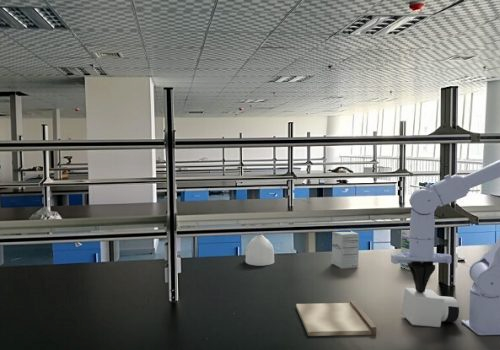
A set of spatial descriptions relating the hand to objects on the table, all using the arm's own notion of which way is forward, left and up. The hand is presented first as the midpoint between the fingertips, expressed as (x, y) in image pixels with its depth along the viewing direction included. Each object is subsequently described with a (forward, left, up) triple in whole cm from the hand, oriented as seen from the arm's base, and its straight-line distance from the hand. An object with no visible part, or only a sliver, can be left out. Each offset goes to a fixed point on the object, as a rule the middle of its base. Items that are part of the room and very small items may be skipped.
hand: (420, 291), depth 109 cm
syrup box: (-18, -47, -8) cm, 51 cm away
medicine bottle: (+3, 0, -4) cm, 5 cm away
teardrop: (+36, -59, -8) cm, 70 cm away
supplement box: (+5, -52, -8) cm, 53 cm away
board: (+21, -2, -8) cm, 23 cm away
